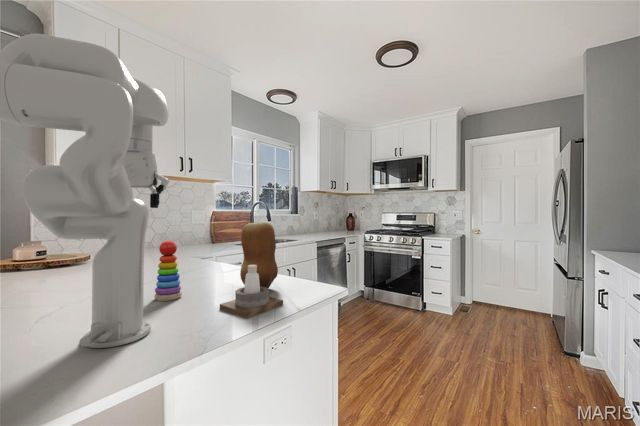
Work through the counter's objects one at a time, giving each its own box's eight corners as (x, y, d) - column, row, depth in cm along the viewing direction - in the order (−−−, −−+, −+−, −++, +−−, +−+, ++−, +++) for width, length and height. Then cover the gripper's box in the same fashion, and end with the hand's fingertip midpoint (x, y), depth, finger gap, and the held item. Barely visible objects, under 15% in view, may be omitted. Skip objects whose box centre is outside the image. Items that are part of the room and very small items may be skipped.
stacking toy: (186, 295, 97) (187, 240, 97) (172, 302, 89) (172, 242, 89) (164, 294, 98) (165, 239, 98) (148, 301, 90) (149, 241, 90)
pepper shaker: (253, 298, 89) (254, 263, 89) (265, 301, 86) (265, 265, 86) (238, 302, 85) (239, 265, 85) (250, 306, 82) (250, 267, 82)
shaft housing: (247, 318, 76) (247, 299, 76) (219, 309, 83) (219, 292, 83) (282, 304, 88) (283, 288, 88) (256, 297, 95) (256, 282, 95)
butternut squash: (239, 287, 108) (240, 221, 108) (275, 285, 112) (275, 221, 112) (240, 298, 94) (241, 222, 94) (281, 294, 98) (281, 222, 98)
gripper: (96, 144, 78) (95, 207, 78) (162, 145, 79) (161, 207, 79) (114, 149, 85) (113, 207, 85) (174, 151, 86) (173, 208, 86)
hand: (136, 207), depth 82 cm, fingers open, 9 cm apart
